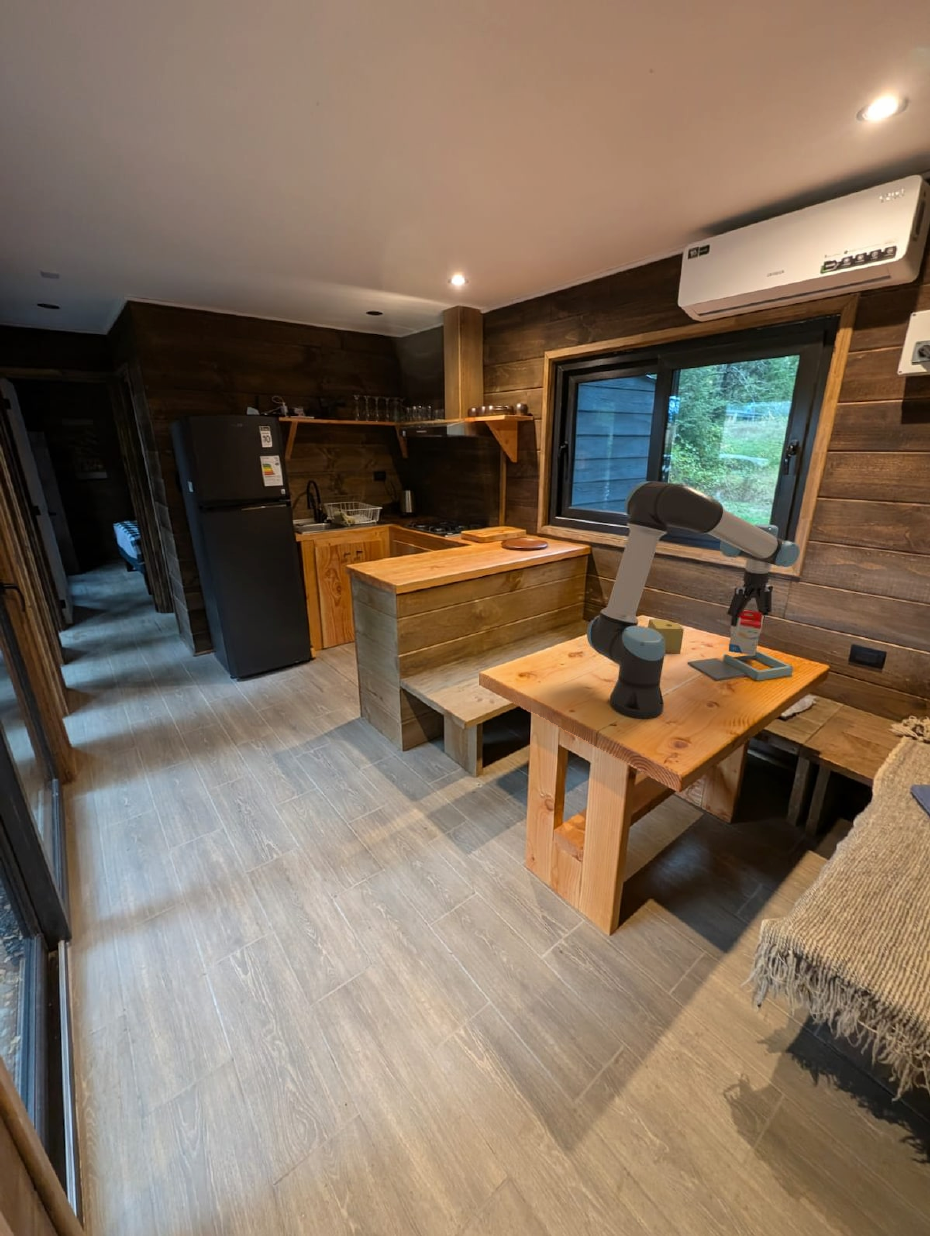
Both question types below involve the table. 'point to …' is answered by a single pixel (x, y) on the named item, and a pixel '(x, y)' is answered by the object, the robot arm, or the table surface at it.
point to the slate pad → (716, 669)
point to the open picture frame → (777, 670)
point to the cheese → (668, 634)
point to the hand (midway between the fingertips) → (745, 633)
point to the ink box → (747, 634)
